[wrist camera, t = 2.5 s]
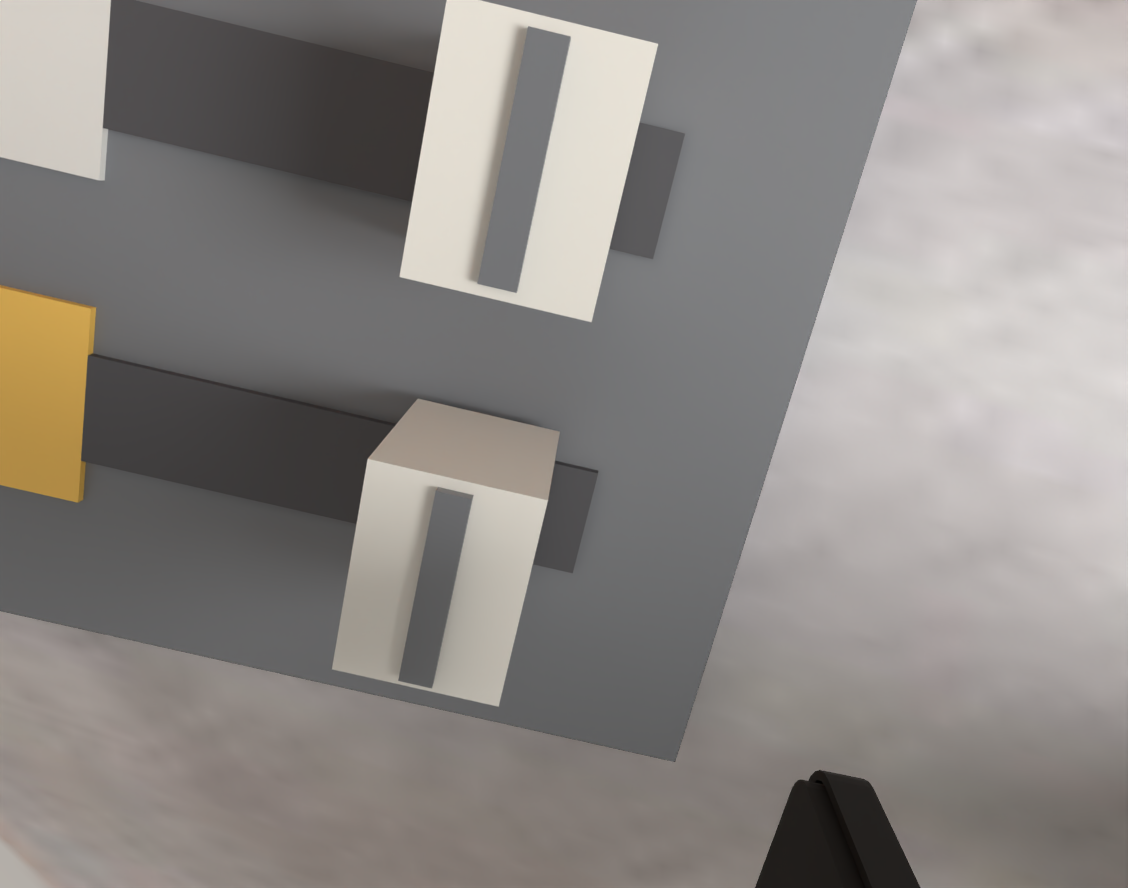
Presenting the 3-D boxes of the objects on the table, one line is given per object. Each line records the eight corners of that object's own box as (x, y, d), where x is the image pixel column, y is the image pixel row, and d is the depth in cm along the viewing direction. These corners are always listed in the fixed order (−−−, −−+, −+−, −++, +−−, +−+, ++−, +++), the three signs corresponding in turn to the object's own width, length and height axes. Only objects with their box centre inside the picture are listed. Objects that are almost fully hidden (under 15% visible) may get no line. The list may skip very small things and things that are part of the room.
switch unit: (671, 731, 22) (675, 767, 21) (-38, 572, 22) (-80, 598, 20) (1060, -513, 15) (1104, -581, 13) (-7, -794, 14) (-71, -895, 13)
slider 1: (594, 289, 17) (591, 324, 13) (445, 253, 17) (396, 278, 13) (645, 74, 16) (658, 42, 12) (485, 35, 16) (445, -11, 12)
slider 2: (519, 601, 19) (497, 713, 15) (386, 570, 19) (328, 675, 15) (560, 431, 18) (547, 504, 14) (418, 398, 18) (364, 462, 14)
